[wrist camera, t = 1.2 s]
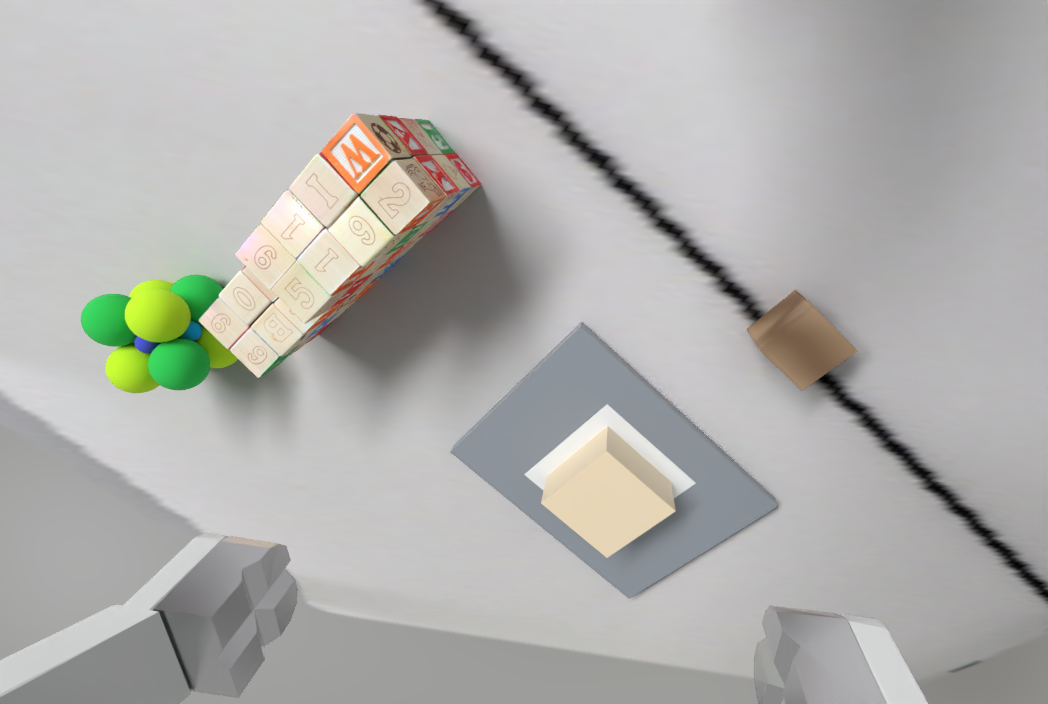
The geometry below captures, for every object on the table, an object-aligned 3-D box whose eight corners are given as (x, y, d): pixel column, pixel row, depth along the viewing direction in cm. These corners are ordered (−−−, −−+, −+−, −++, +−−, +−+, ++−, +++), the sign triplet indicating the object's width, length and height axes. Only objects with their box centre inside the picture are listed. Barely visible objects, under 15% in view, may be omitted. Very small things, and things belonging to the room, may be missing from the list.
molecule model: (227, 267, 47) (148, 277, 48) (147, 295, 39) (56, 305, 40) (260, 355, 50) (184, 361, 52) (192, 397, 42) (106, 403, 44)
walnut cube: (794, 289, 39) (815, 307, 35) (833, 328, 40) (858, 351, 36) (746, 328, 41) (760, 350, 37) (784, 365, 41) (801, 390, 37)
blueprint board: (581, 321, 43) (577, 345, 38) (774, 497, 46) (791, 539, 42) (454, 445, 50) (437, 477, 45) (628, 589, 54) (629, 633, 49)
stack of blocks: (320, 336, 48) (229, 398, 37) (270, 285, 47) (161, 333, 36) (483, 183, 40) (431, 202, 29) (429, 116, 39) (351, 110, 28)
